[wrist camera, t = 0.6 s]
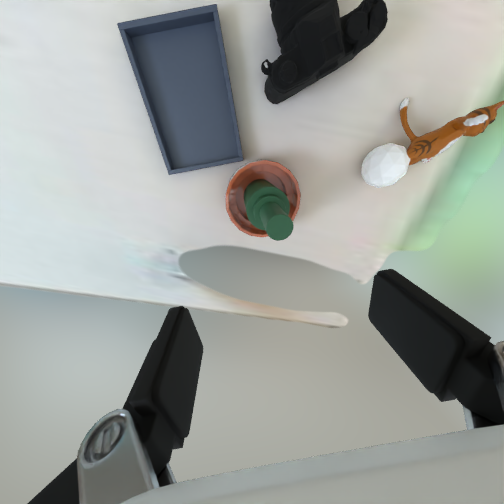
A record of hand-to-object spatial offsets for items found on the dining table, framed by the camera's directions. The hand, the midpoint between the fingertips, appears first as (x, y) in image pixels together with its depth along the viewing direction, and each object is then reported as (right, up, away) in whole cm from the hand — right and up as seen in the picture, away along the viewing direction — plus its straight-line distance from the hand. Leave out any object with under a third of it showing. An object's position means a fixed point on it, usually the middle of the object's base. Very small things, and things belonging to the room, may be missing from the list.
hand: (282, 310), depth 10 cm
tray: (-11, +25, +19) cm, 33 cm away
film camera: (+5, +32, +17) cm, 37 cm away
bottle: (0, +13, +25) cm, 29 cm away
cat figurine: (+25, +23, +24) cm, 41 cm away
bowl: (0, +13, +26) cm, 29 cm away
